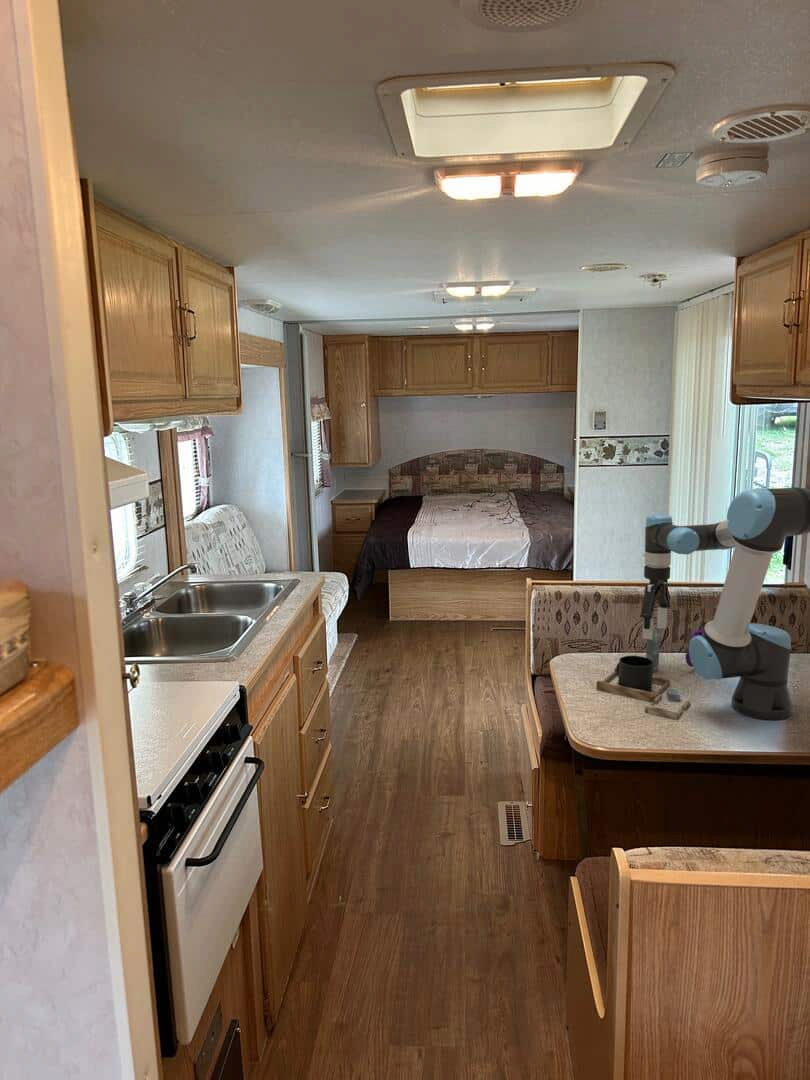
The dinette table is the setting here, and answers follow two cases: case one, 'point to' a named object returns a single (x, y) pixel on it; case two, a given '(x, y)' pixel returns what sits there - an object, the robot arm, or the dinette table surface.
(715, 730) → the dinette table surface
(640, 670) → the mug
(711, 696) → the dinette table surface
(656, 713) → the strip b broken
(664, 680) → the wooden frame with post
